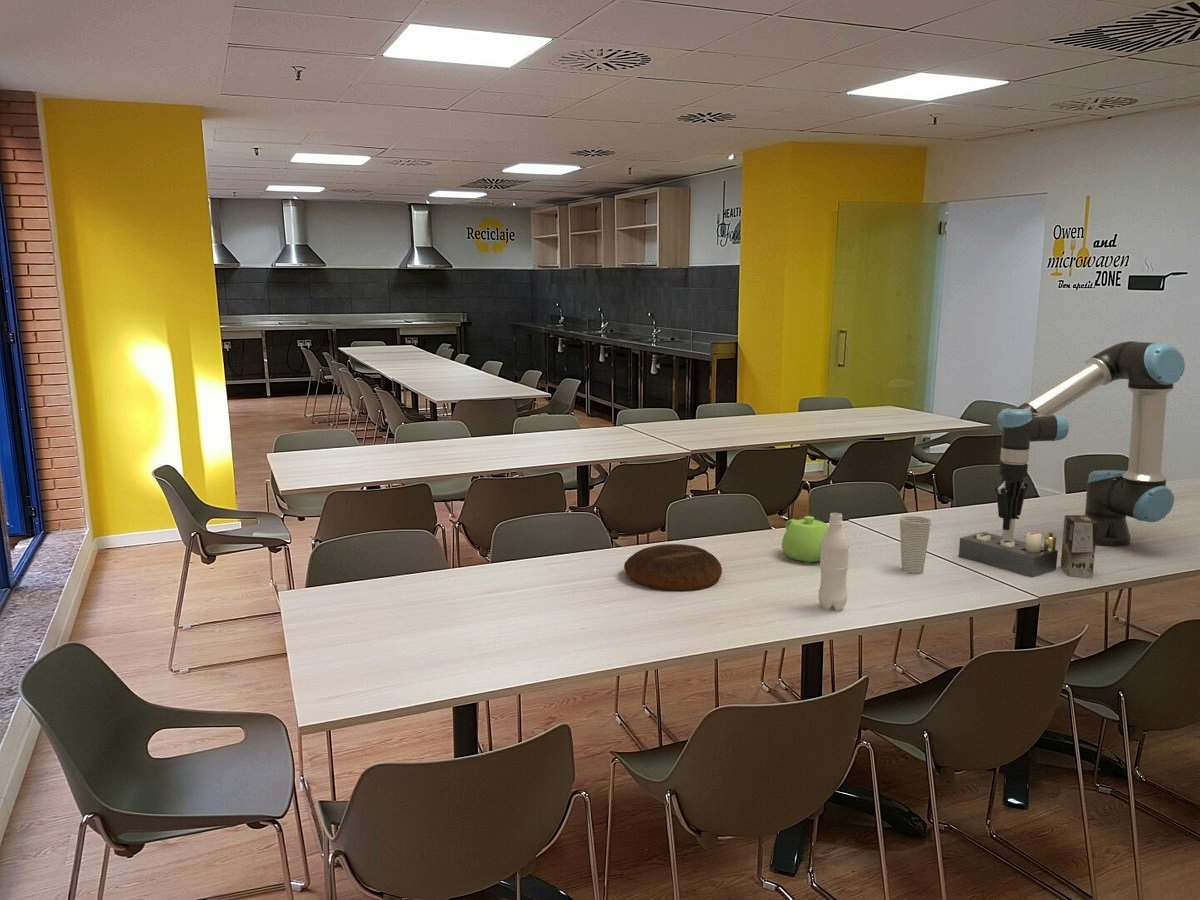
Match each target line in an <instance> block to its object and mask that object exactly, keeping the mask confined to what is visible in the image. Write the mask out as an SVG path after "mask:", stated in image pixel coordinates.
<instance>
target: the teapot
mask: <svg viewBox="0 0 1200 900" xmlns="http://www.w3.org/2000/svg"><path fill="white" fill-rule="evenodd" d="M828 528H829V526H828V524H826V523H825V522H824V521H821V520H818V519H815V517H814V516H811V515H805V516H803V518H801V519H794V518H793V519H792V518H791V519H788V520H787V521H786V523H785V532H784V534H783V538H782V539H781V540H782V542H781V549H782V551H783V553H784V554H785V555H786V556H787V557H788V558H789V557H790V558H789V559H794V560H796V561H802V562H803V564H806V563H807V565H809V564H812V562H813V563H814V562H820V558H821V546H820V545H821V541H822V538H823V537H824V535H825V533H826V532H827V530H828Z"/></svg>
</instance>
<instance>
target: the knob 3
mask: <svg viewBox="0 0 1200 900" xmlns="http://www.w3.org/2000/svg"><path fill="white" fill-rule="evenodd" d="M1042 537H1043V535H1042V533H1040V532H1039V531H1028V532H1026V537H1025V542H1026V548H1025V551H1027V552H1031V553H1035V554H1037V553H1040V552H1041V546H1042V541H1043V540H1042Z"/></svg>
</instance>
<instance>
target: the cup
mask: <svg viewBox="0 0 1200 900" xmlns="http://www.w3.org/2000/svg"><path fill="white" fill-rule="evenodd" d="M931 524H932V520H931V519H930V518H928V517H924V516H917V515H906V516H905V515H904V516H900V518H899V530H900V531H899V533H900V536H899V537H900V556H901V559H900V561H901V562H900V563H901V571H902V572H904V573H907V574H913V575H916V574H917V575H918V574H922V573H923V572H924V567H925V564H926V563H925V561H926V558H927V557H926V555H927V549H928V542H929V536H930V530H931Z"/></svg>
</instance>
